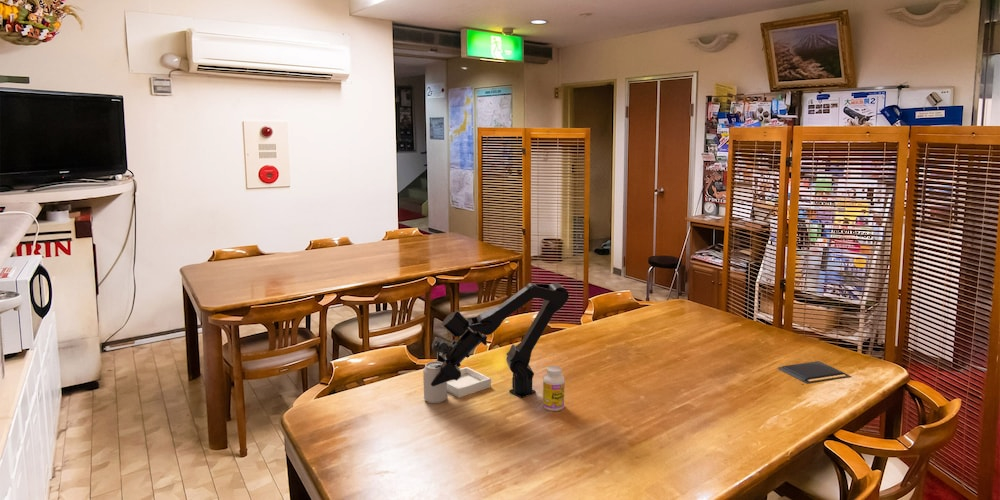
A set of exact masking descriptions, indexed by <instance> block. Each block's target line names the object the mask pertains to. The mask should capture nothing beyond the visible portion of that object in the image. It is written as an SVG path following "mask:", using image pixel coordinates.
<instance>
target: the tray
mask: <svg viewBox="0 0 1000 500" xmlns="http://www.w3.org/2000/svg"><path fill="white" fill-rule="evenodd" d="M460 371H461V377H460V378H459V379H458V380H457V381H456V380H455V379H454V380H450V381H447V393H449V394H450V395H452V396H454V397H456V398H458V399H459V398H462V397H465V396H469V395H471V394H474V393H478V392H480V391H483V390H485V389H489V388H492V379H491V377H488V376H487V375H485V374H482V373H480V372H478V371H476V370H475V369H472V368H470V367H468V366H465V367H461V368H460Z"/></svg>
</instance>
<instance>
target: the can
mask: <svg viewBox="0 0 1000 500" xmlns="http://www.w3.org/2000/svg"><path fill="white" fill-rule="evenodd" d="M440 364H441V365H442V364H443V362H438V361H437V360H436V361H435V360H434V361H429V362H427V363H425V364H424V366H425V367H423V369H422V374H423V375H422V376H423V380H422V381H423V399H424V400H425V401H426V402H427V403H429V404H440V403H442V402H444V401H445V400H447V398H448V392H447V382H444V383H441V384H439V385H436V386H432V385H431V383H432V381H433V380H434V379H435V377H436V376H437V374H438V373H439V372H440Z"/></svg>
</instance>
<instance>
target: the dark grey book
mask: <svg viewBox="0 0 1000 500" xmlns="http://www.w3.org/2000/svg"><path fill="white" fill-rule="evenodd" d="M777 370H779V371H780V372H783V373H785V374H787V375H789V376H791V377H793V378H794V379H796V380H798V381H800V382H803V383H804V384H807V385H808V384H814V383H820V382H821V383H822V382H827V381H833V380H840V379H841V380H842V379H847V378H848V379H849V378H852V376H851V375H849V374H847V373H846V372H843V371H841V370H840V369H837V368H835V367H833V366H831V365H829V364H827V363H824V362H821V361H820V360H818V361H810V362H803V363H802V362H801V363H796V364H788V365H782V366H780V367H777Z"/></svg>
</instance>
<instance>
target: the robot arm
mask: <svg viewBox="0 0 1000 500" xmlns="http://www.w3.org/2000/svg"><path fill="white" fill-rule="evenodd" d="M534 298H535V299H540V300H543V301H542V304H541V307H540V309H539V311H538V312H537V314H536V316H535V317H534V319H533V321H532V322H531V324H530V326H529V327H528V330H527V331H526V332H525V334H524V336H523V337H522V339H521V341H520V342H519V343H518V344H517V345H515V344H511V346H510V349H509V350H508V352H506V353H505V355H506V364H507V366H508V368H509V370H510V372H511V373H512V377H511V378H512V380H511V384H512V385H511V389H509V393H511V394H513V395H515V396H517V397H519V398H525V397H527V396H530V395H533V394H536V393H537V391H536V390H535V389H533V378H534V376H535V372H534V371H533V370H532V368H531V365H530V362H531V357H532V352H533V350H534V348H535V346H536V345H537V343H538V341H539V340H540V338H541V337H542V334H543V333H544V331H545V330H546V328H547V326H548V324H549V323H550V321H551V320H552V318H553V316H554V315H555V313H557V312H558V311H559V310H561V309H562V308H563V307H564V306H565V304H566V303H567V302H568V300H569V299H570V296H569V291H568V290H567V289H566V288H565V287H564V286H563V285H562V284H561V283H559V282H553V283H550V284H548V283H534V282H529V283H527V284H526V285H525V286H524V287H523V288H521V289H520V290H519V291H517V292H516V293H515V294H513V295H512V296H510V297H509V298H507V299H506V300H504V301H503V302H502V303H501V304H499V305H498V306H496V307H494V308H489V309H488V310H485V311H483V312H481V313H479V314H478V315H477V316H471V317H467V318H466V317H465V316H464V315H463V314H461V313H462V312H460V310H458V309H456V310H455V311H454V312H451V313H450V314H448V315H447V316H446V317H445V318H444V319H443V321H442V322H441V326H442V328H445V330H447V332H449V334H451V335H453V337H456V338H457V337H458V339H457V340H456V339H453V340H452V341H448V340H446V339H444V338H440V337H439V336H435V337H434V339H433V342H432V344H431V349H432V350H433V351H435V352H436V354H437V355H436V356H437V357H436V361H438V362H443V364H442V365H441V364H440V372H439V373H438V374H437V376H436V377H435V379H434V380H433V381H432V383H431V385H432V386H436V385H439V384H441V383H444V382H447V381H450V380H454V379H455V380H456V381H457V380H458V379H459V378H460V377H461V371H460V369H461V368H460V367H461V366H462V364H461V363H462V362H463V361H464V359H466V358H467V359H468V358H469V357H470V354H471V352H472V351H473V350H474V349H476V347H477V346H478V345H479V344H480V343H482V344H483V345H484V346H487V343H488V342H487V340H488V336H490V335H492V334H494V332H496V330H497V329H498V328H499V327H500V326H501V325H502V323H503V322H504V320H506V319H507V318H508V317H510V316H511V315H512V314H513V313H515V312H517V311H518V310H519V309H521V308H522V307H523V306H525V305H526V304H528V303H529V302H530V301H531V300H533V299H534Z"/></svg>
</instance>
